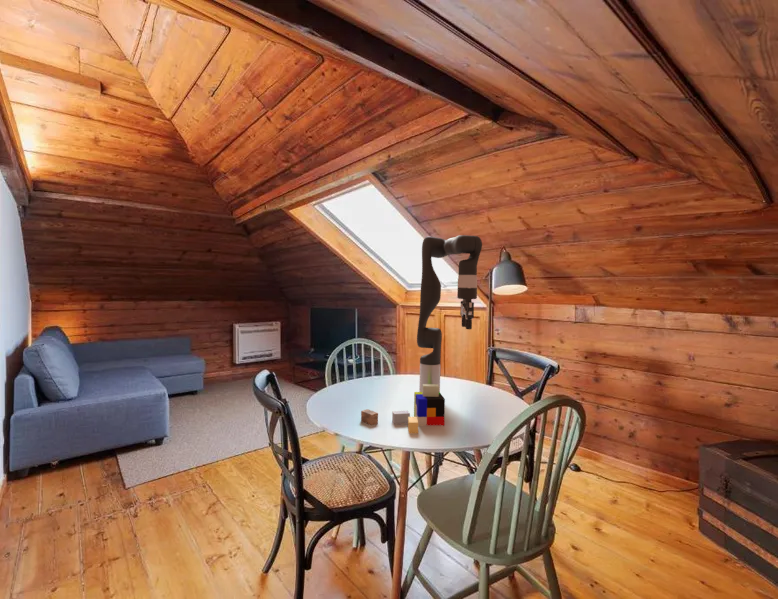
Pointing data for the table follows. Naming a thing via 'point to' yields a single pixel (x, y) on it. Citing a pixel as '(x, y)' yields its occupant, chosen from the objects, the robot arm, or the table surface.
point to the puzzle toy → (429, 409)
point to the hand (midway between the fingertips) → (466, 328)
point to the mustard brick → (412, 425)
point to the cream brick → (430, 390)
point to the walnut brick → (369, 417)
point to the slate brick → (400, 417)
